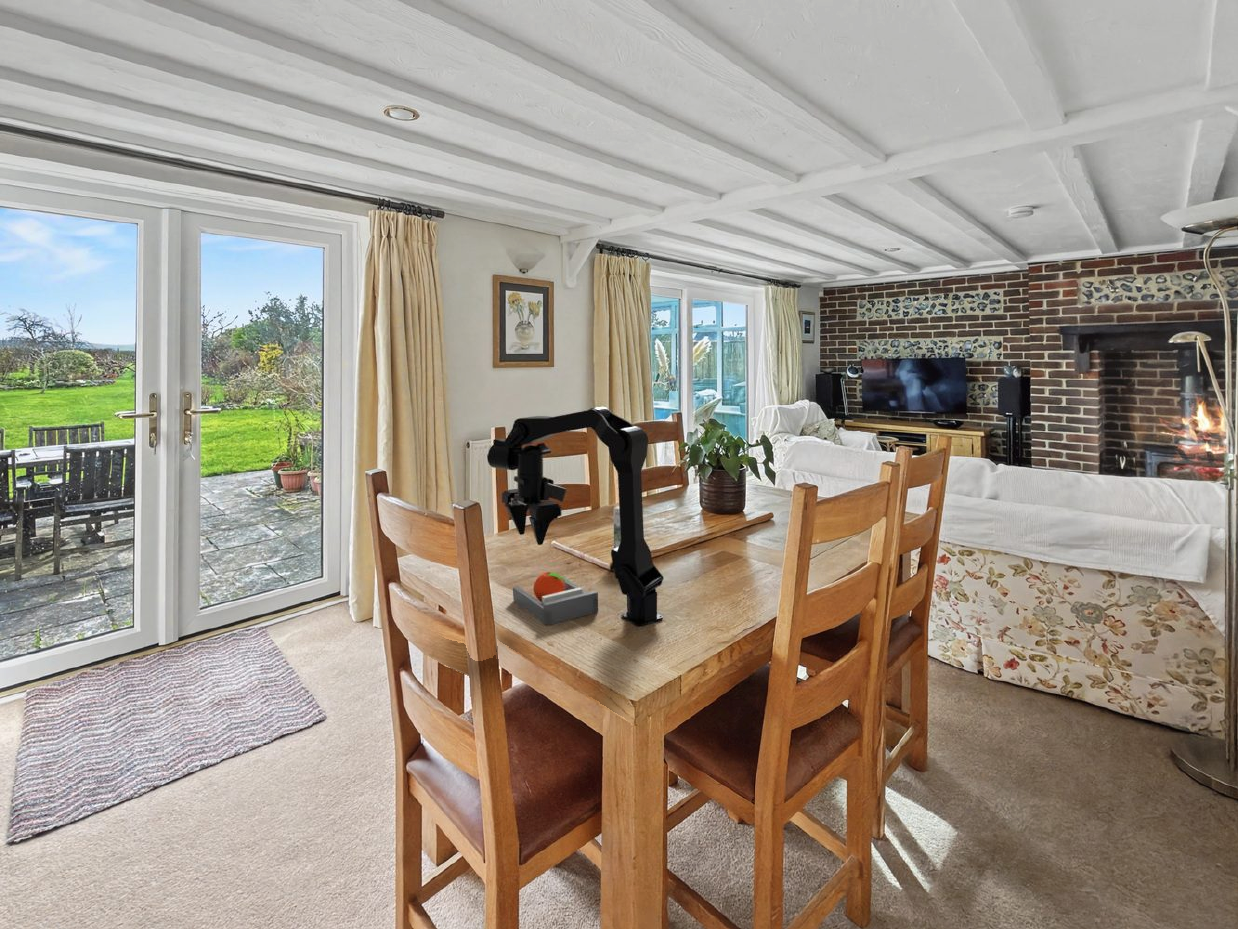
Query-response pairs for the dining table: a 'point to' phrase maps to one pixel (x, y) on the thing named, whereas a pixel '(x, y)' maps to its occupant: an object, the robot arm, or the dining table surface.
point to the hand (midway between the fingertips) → (530, 539)
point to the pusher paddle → (561, 595)
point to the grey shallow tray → (558, 605)
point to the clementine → (548, 585)
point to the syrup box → (616, 527)
